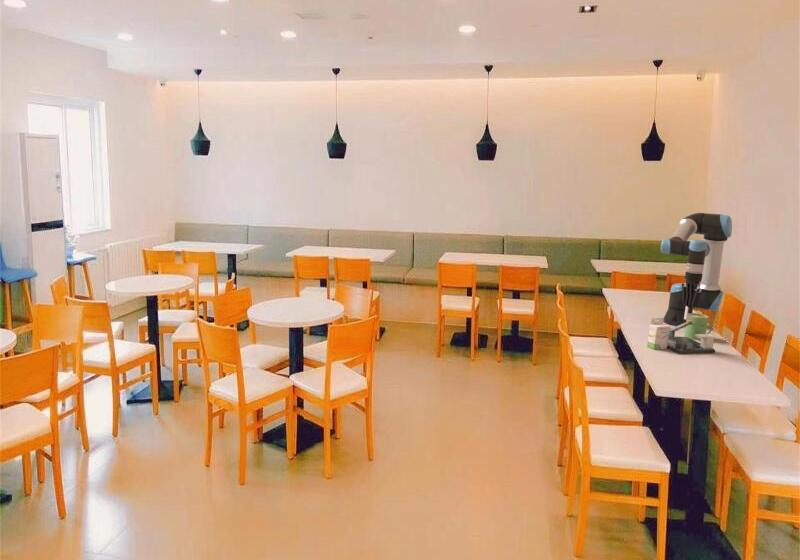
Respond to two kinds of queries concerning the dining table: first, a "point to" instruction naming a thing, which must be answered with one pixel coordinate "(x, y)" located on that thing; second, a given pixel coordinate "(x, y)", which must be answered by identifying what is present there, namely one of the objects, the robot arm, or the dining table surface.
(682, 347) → the base tray
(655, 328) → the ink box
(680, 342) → the heat sink
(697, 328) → the mug
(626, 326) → the dining table surface
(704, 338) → the lug slider
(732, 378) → the dining table surface
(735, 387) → the dining table surface
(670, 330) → the strap
